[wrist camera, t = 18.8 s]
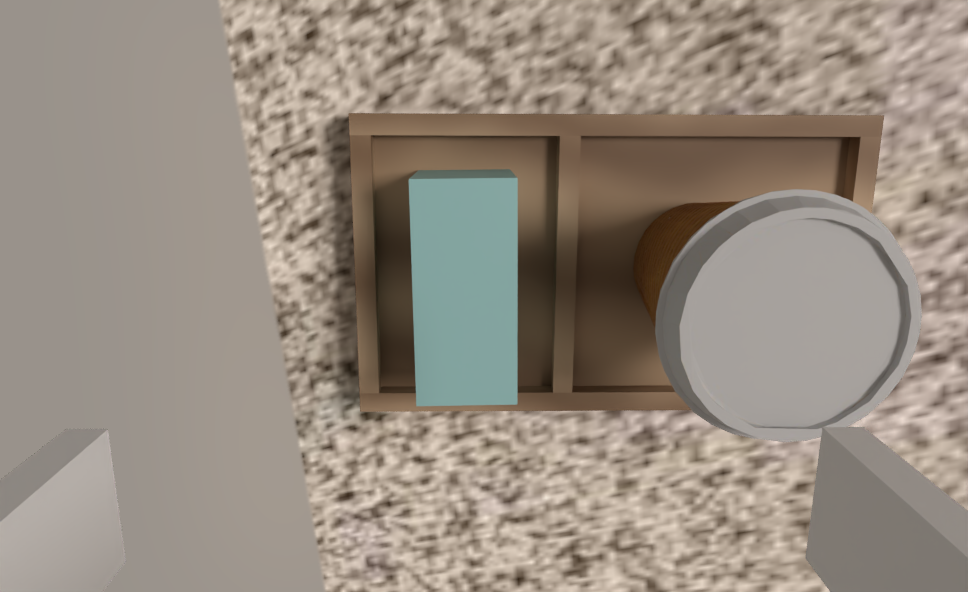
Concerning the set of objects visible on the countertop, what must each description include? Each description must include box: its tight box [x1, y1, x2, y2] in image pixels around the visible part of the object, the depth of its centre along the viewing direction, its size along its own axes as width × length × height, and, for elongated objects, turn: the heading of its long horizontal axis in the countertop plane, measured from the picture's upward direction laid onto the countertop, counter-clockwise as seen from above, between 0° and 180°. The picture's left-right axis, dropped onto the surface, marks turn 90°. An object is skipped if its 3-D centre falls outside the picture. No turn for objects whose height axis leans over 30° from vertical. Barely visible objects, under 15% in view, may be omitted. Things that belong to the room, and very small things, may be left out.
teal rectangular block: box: [409, 169, 518, 406], centre depth 34 cm, size 10×4×6 cm, turn 1°
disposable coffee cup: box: [633, 189, 922, 442], centre depth 31 cm, size 10×10×12 cm
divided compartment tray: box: [349, 113, 884, 412], centre depth 37 cm, size 15×26×2 cm, turn 90°
